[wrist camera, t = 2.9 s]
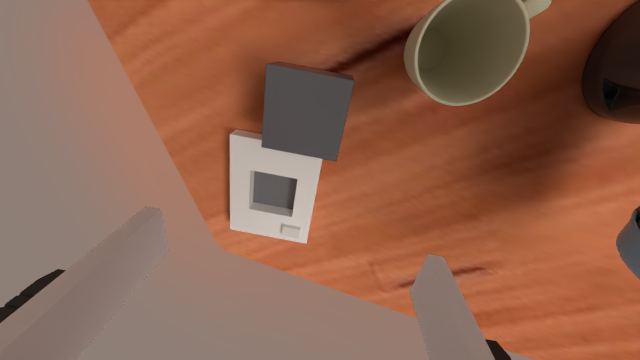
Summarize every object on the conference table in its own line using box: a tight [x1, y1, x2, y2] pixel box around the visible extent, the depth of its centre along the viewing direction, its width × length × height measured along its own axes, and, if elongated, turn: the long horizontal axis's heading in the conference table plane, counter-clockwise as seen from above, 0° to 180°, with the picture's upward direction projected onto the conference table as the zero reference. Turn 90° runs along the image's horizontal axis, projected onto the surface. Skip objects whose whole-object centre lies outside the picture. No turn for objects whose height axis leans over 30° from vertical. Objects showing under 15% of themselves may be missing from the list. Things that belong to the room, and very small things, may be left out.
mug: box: [404, 0, 551, 106], centre depth 25 cm, size 11×10×12 cm
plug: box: [261, 62, 354, 162], centre depth 32 cm, size 10×10×8 cm
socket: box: [230, 129, 322, 243], centre depth 41 cm, size 18×14×3 cm
